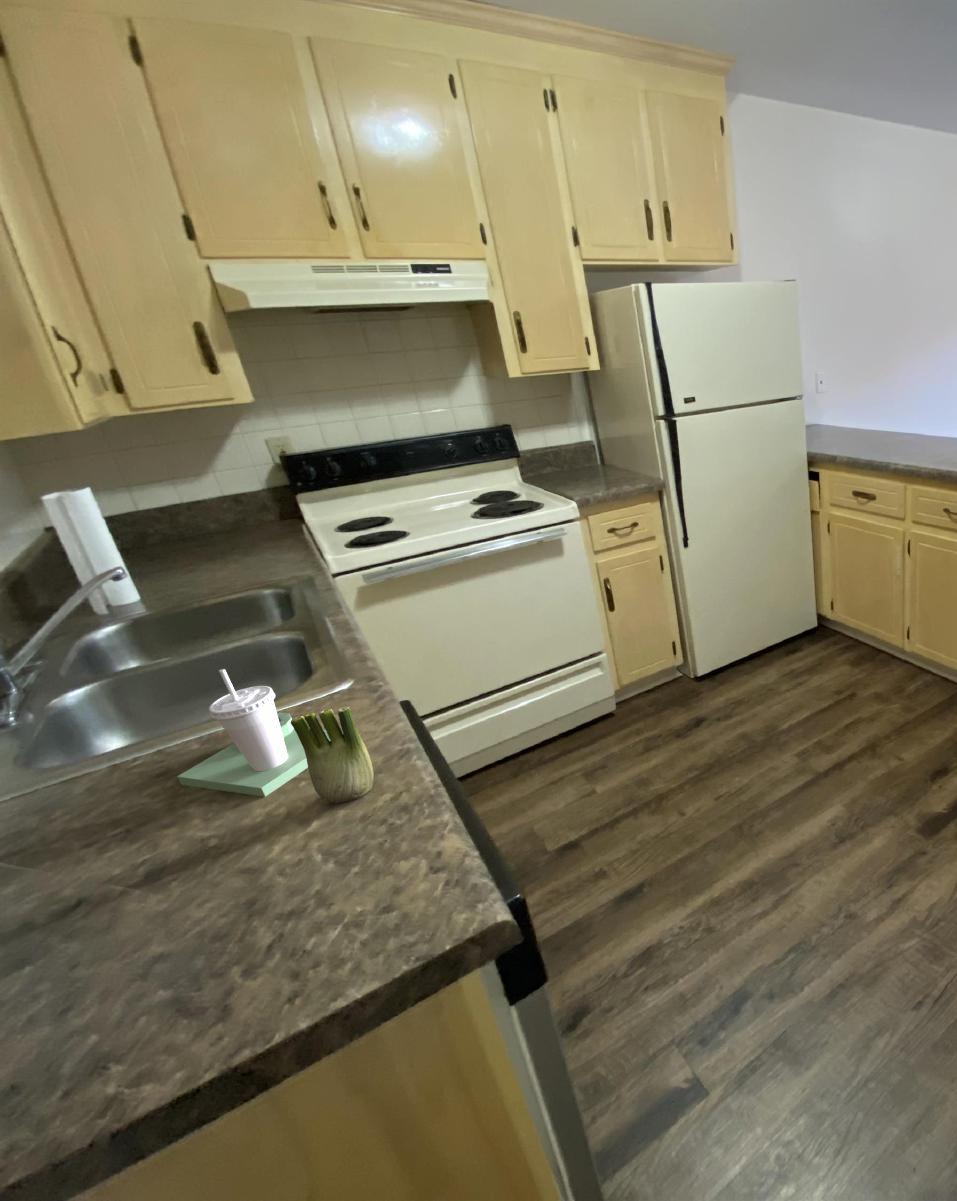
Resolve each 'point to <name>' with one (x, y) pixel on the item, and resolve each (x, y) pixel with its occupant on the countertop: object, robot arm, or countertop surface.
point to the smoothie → (252, 724)
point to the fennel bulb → (335, 755)
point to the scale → (248, 767)
